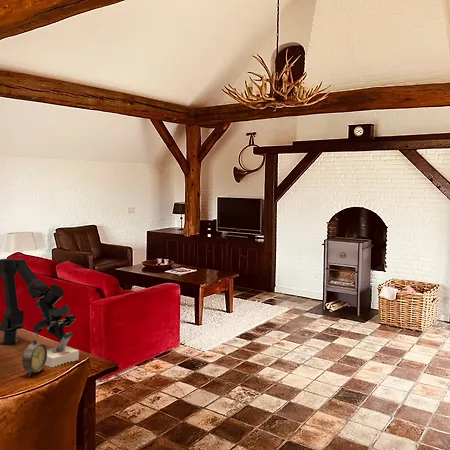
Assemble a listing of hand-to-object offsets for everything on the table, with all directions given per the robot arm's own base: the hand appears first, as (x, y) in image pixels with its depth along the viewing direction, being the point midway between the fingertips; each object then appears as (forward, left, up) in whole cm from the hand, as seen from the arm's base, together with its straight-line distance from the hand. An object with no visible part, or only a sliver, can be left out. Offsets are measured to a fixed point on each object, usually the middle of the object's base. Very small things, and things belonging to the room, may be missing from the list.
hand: (63, 340), depth 201 cm
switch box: (-2, -2, -9) cm, 10 cm away
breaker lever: (-2, -2, -5) cm, 6 cm away
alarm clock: (+13, -9, -10) cm, 19 cm away
